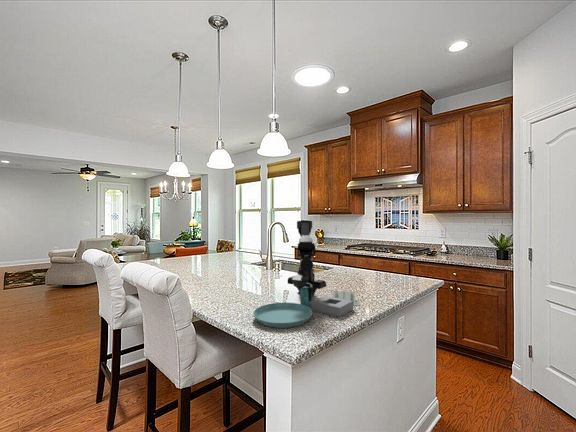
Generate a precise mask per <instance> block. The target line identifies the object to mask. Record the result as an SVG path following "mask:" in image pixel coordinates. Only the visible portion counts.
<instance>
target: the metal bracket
mask: <svg viewBox="0 0 576 432" xmlns="http://www.w3.org/2000/svg"><path fill="white" fill-rule="evenodd" d="M342 290H343V291H342ZM342 290H338V289H334V290H332V293H331V297H335V298H340V299H346V300H351V301H353V307H360V306H361V302H359V301H356V291H353V290H352V289H350V290H349V291H345V289H342Z"/></svg>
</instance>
